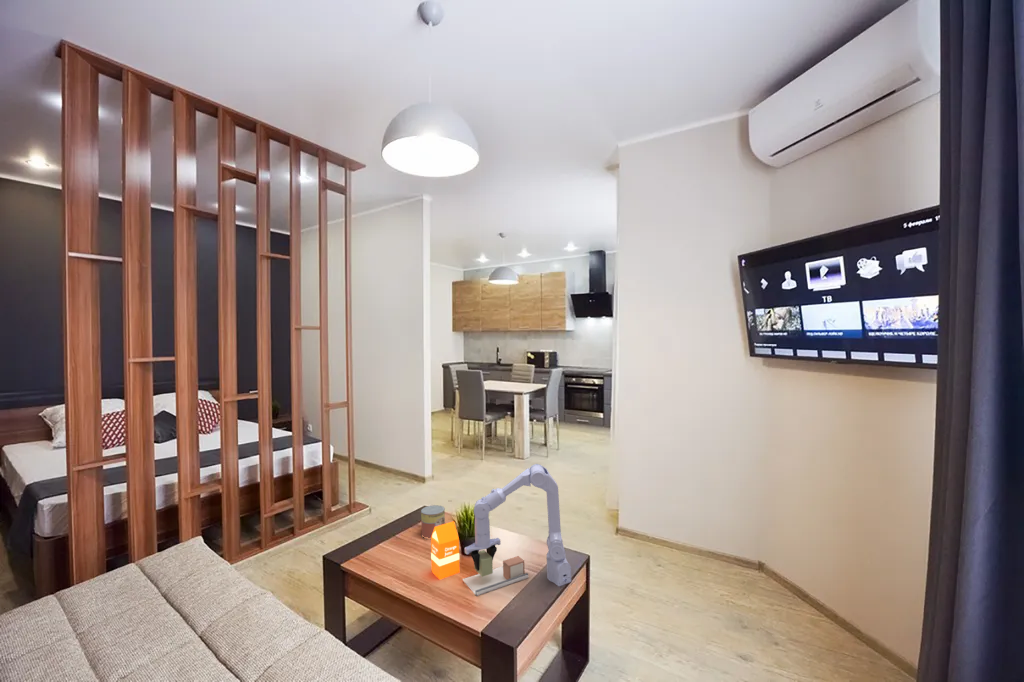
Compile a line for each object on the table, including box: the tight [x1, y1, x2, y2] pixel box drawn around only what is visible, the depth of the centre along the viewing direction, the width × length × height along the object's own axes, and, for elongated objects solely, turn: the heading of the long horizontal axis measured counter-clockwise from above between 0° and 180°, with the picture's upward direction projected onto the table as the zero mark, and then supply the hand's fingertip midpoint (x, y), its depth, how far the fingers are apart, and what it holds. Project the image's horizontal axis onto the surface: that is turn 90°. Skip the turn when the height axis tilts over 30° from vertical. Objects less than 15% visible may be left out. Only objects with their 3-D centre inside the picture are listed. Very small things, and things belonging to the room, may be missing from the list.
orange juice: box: [430, 520, 461, 580], centre depth 170 cm, size 8×9×20 cm
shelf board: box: [462, 565, 529, 597], centre depth 165 cm, size 13×22×2 cm, turn 120°
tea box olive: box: [473, 549, 494, 577], centre depth 164 cm, size 5×7×6 cm, turn 30°
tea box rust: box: [502, 555, 526, 580], centre depth 166 cm, size 5×7×6 cm
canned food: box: [420, 504, 446, 538], centre depth 207 cm, size 11×11×12 cm
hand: (483, 567), depth 164 cm, fingers closed on tea box olive, 5 cm apart
